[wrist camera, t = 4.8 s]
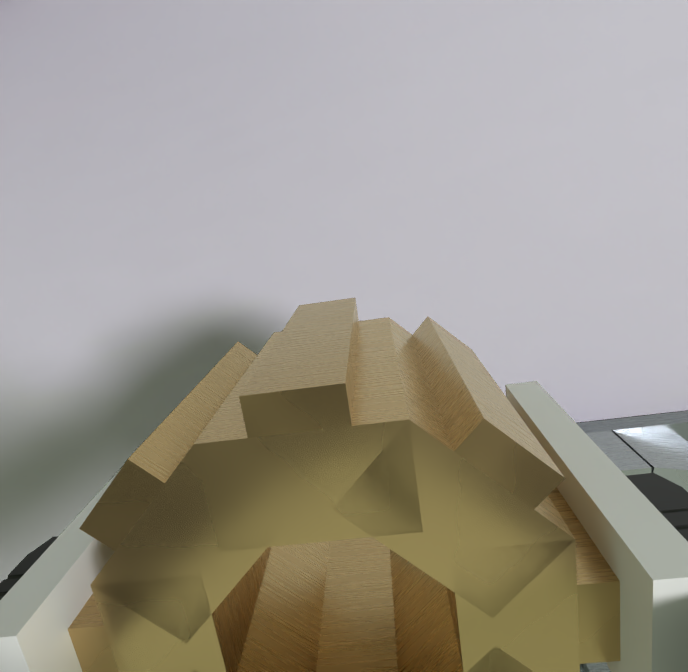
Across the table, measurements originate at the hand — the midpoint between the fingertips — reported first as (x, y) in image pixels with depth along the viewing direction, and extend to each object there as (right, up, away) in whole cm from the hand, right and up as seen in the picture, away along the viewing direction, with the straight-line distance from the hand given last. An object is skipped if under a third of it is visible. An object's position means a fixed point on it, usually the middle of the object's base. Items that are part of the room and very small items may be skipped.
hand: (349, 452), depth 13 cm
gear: (0, 0, 0) cm, 0 cm away
